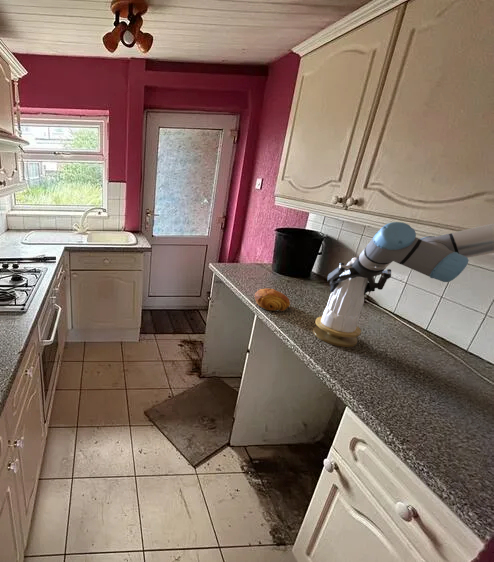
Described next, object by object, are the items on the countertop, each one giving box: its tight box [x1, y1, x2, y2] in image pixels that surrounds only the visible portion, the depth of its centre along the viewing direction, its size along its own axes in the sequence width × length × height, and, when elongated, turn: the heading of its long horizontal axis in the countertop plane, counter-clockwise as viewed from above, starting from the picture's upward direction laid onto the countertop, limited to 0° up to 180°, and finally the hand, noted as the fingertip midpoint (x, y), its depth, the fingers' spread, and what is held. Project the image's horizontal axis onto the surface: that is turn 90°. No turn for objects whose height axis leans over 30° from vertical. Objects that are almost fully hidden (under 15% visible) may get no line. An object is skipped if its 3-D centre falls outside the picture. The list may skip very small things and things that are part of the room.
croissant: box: [254, 287, 291, 312], centre depth 140 cm, size 14×16×8 cm
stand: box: [312, 315, 362, 348], centre depth 116 cm, size 14×14×5 cm
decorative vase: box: [321, 256, 368, 332], centre depth 110 cm, size 11×11×25 cm
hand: (346, 290), depth 113 cm, fingers closed on decorative vase, 8 cm apart
